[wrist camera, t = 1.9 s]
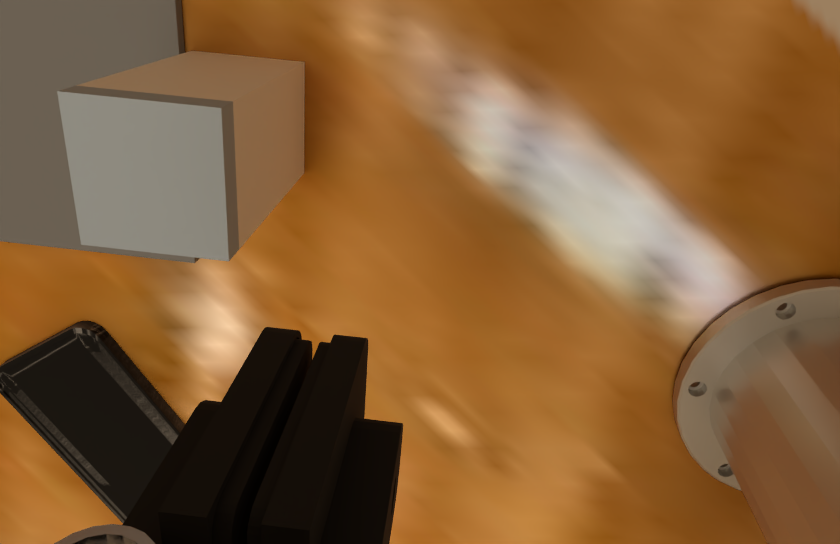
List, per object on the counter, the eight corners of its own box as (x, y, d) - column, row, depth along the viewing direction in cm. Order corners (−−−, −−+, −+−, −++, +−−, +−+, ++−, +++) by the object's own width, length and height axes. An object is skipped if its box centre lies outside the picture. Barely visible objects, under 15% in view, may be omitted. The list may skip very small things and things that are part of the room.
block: (304, 61, 28) (221, 107, 19) (304, 172, 30) (228, 261, 21) (192, 50, 28) (57, 91, 20) (199, 161, 31) (81, 244, 22)
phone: (85, 320, 34) (249, 516, 39) (96, 310, 35) (255, 502, 40) (-18, 376, 36) (150, 554, 41) (-4, 365, 37) (158, 540, 42)
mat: (175, -80, 26) (168, -81, 26) (199, 258, 33) (194, 263, 32) (-111, -106, 27) (-122, -107, 26) (-31, 232, 33) (-39, 236, 33)
